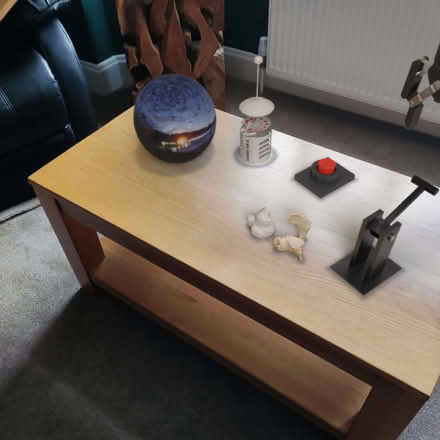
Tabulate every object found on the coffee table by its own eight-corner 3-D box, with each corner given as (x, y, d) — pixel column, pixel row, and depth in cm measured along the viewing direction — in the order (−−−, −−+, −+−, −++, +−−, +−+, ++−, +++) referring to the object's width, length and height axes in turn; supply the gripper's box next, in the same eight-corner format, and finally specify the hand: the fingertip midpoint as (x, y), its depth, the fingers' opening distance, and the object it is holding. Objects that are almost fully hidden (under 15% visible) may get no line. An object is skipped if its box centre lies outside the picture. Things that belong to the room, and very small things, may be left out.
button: (325, 162, 103) (327, 155, 101) (338, 170, 101) (339, 164, 99) (313, 168, 101) (314, 162, 100) (325, 177, 99) (327, 170, 98)
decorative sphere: (233, 152, 112) (232, 75, 96) (177, 190, 104) (166, 113, 88) (181, 125, 121) (172, 50, 105) (126, 158, 112) (107, 82, 96)
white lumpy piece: (266, 246, 92) (268, 219, 85) (240, 234, 94) (240, 206, 88) (279, 231, 94) (282, 203, 88) (254, 220, 97) (255, 192, 90)
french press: (281, 153, 111) (290, 52, 91) (257, 177, 106) (262, 75, 86) (248, 141, 115) (250, 41, 95) (224, 164, 109) (221, 63, 89)
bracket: (366, 246, 91) (383, 195, 80) (400, 272, 86) (424, 221, 75) (328, 271, 87) (341, 221, 76) (362, 299, 83) (381, 250, 72)
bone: (284, 269, 86) (278, 220, 82) (269, 261, 91) (263, 216, 88) (321, 258, 88) (316, 210, 84) (304, 251, 94) (300, 206, 90)
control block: (326, 164, 108) (329, 150, 105) (353, 182, 103) (356, 168, 100) (293, 181, 104) (295, 168, 101) (320, 201, 100) (322, 187, 96)
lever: (416, 179, 79) (416, 171, 77) (439, 193, 76) (440, 185, 74) (364, 229, 79) (363, 223, 77) (385, 245, 77) (384, 239, 75)
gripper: (543, 39, 54) (485, 150, 67) (447, 5, 61) (411, 112, 74) (508, 57, 52) (455, 169, 65) (412, 20, 59) (381, 128, 72)
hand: (431, 138), depth 69 cm, fingers open, 8 cm apart
